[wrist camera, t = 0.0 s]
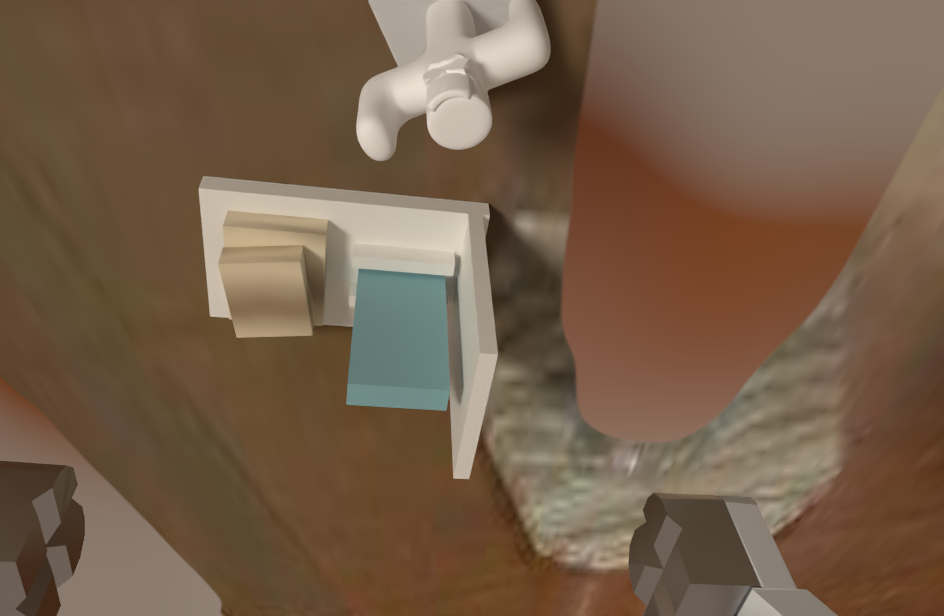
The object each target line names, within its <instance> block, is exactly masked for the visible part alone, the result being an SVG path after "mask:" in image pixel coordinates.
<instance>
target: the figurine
mask: <svg viewBox="0 0 944 616" xmlns="http://www.w3.org/2000/svg"><path fill="white" fill-rule="evenodd" d="M368 2H369V4H370V6H371V8H372V11H373V13H374V15H375V17H376V19H377V22H378V24H379V26H380V28H381V30H382V32H383V35H384V37H385V39H386V41H387V43H388V46H389V48H390V50H391V52H392V54H393V56H394V59H395V61H396V63H397V65H398V67H396V68H394V69H391V70H389V71H386V72H384V73H381V74H379V75H376V76H374V77H373V78H371V79H370V80H369V81H368V82H367V83H366V84H365V85H364V87H363V89H362V91H361V95H360V100H359V107H358V115H357V124H356V132H357V137H358V140H359V143H360V145H361V147H362V149H363V150H364V151H365V153H366V154H367V155H368V156H369V157H371V158H372V159H374V160H377V161H384V160H387V159H389V158H390V157H391V156H392V155H393V154H394V152H395V149H396V141H397V133H398V131H399V129H400V127H401V126H402V125H403V124H404V123H405V122H406V121H408V120H409V119H411V118H414V117H417V116H419V115H422V114H425V113H426V114H427V126H428V130H429V133H430V135H431V137H432V138H433V139H434V140H435V141H436V142H437V143H438V144H440V145H441V146H443V147H446V148H449V149H456V150H461V149H467V148H471V147H473V146H475V145H477V144H479V143H480V142H481V141H482V140H484V139H485V137H486V136H487V135H488V133H489V132H490V129H491V126H492V113H491V107H490V101H489V97H488V93H487V92H488V90H490V89H492V88H494V87H497V86H500V85H502V84H505V83H508V82H510V81H513V80H516V79H519V78H521V77H524V76H527V75H529V74H532V73H534V72H536V71H538V70H540V69H541V68H543V67H544V66H545V65H546V63H547V62H548V60H549V58H550V52H551V46H550V39H549V34H548V31H547V27H546V24H545V21H544V18H543V15H542V12H541V9H540V7H539V5H538V3H537V2H536V0H368Z"/></svg>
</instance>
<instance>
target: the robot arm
mask: <svg viewBox="0 0 944 616" xmlns="http://www.w3.org/2000/svg"><path fill="white" fill-rule="evenodd" d="M77 485H78V484H77V480H76V476H75V472H74V468H73V467H70V466H65V465H64V466H63V465H51V464H36V463H23V462H9V461H0V616H56V615H57V613H58V610H59V608H60V606H61V604H60V601H59V596H58V592H57V588H58V587H59V586H60V585H61V584H63V583H64V582H66V581H67V580H68V579H69V578H71V577H72V576H73V574H74V571H75V569H76V566H77V564H78V561H79V559H80V555H81V550H82V545H83V540H84V536H85V530H84V529H85V519H84V514H83V509H82V506H81V505H79V504H78V503H77V502H76V501H74V500H73V499H72V496H73V494H74V492H75V489H76V487H77ZM643 512H644V515H645V519H646V523H644V524H643V525H641V526H640V527H639V528H637V529H636V530H635V532H634V534H633V537H632V540H631V543H630V550H629V571H630V579H631V583H632V587H633V590H634V593H635V594H636V595H637V596H638V597H639V598H640V599H641V600H642V601H643V602H644V603H645V604H646V605H647V608H646V611H645V613H644V615H643V616H838V615H836V614H835V613H834V612H833V611H832V610H830V609H829V608H828V607H827V606H826V605H824V604H823V603H822V602H821V601H820V600H819V599H817V598H816V597H815V596H814V595H813V594H811V593H810V592H809V591H808V590H804V589H797V587H796V585H795V583H794V581H793V579H792V577H791V575H790V573H789V571H788V568H787V566H786V564H785V562H784V560H783V558H782V556H781V554H780V552H779V550H778V547H777V545H776V543H775V541H774V539H773V537H772V535H771V533H770V531H769V529H768V527H767V524H766V522H765V520H764V518H763V516H762V514H761V512H760V510H759V508H758V506H757V504H756V502H755V501H754V500H753V499H752V498H751V497H738V496H714V495H696V494H668V493H653V494H652V495H651V496H650V497H649V498H648V499H647V501H646V503H645V506H644V508H643Z"/></svg>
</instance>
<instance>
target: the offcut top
mask: <svg viewBox="0 0 944 616" xmlns="http://www.w3.org/2000/svg"><path fill="white" fill-rule="evenodd" d="M218 267H219V270H220V274H221V278H222V282H223V286H224V290H225V294H226V298H227V302H228V305H229V309H230V313H231V317H232V321H233V325H234V329H235V333H236V337H237V338H242V337H275V336H309V335H313V330H314V324H315V313H314V307H313V301H312V295H311V289H310V283H309V277H308V271H307V265H306V259H305V252H304V246H303V245H290V246H250V247H223V249H222V252H221V255H220V259H219V262H218Z"/></svg>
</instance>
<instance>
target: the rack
mask: <svg viewBox="0 0 944 616" xmlns="http://www.w3.org/2000/svg"><path fill="white" fill-rule="evenodd" d="M199 198H200V209H201V220H202V231H203V242H204V253H205V264H206V276H207V287H208V298H209V309H210V316H212V317H226V318H229V308H228V302H227V298H226V294H225V290H224V286H223V282H222V278H221V274H220V270H219V267H218V262H219V259H220V255H221V252H222V249H223V247H224V237H223V224H224V221H225V218H226V215H227V212H228V210H230V211H241V212H252V213H263V214H274V215H285V216H296V217H307V218H318V219H328V234H327V263H326V292H325V312H324V320H323V325H335V326H349V327H353V322H354V311H355V301H356V290H357V279H358V268H360V269H372V270H384V271H396V272H408V273H420V274H432V275H444V276H445V285H446V309H447V333H448V356H449V380H450V409H451V433H452V457H453V478H459V479H469V477H470V473H471V468H472V464H473V460H474V456H475V451H476V447H477V443H478V438H479V434H480V430H481V426H482V421H483V417H484V413H485V408H486V404H487V400H488V395H489V391H490V387H491V383H492V378H493V374H494V370H495V365H496V361H497V357H498V350H497V341H496V332H495V323H494V313H493V304H492V295H491V286H490V277H489V268H488V259H487V250H486V241H485V239H486V233H487V228H488V223H489V218H490V212H489V204H488V203H478V202H467V201H457V200H447V199H436V198H426V197H416V196H405V195H395V194H384V193H374V192H364V191H353V190H343V189H333V188H322V187H312V186H301V185H291V184H281V183H270V182H260V181H250V180H239V179H229V178H219V177H208V176H203V178H202V181H201V184H200V186H199Z"/></svg>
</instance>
